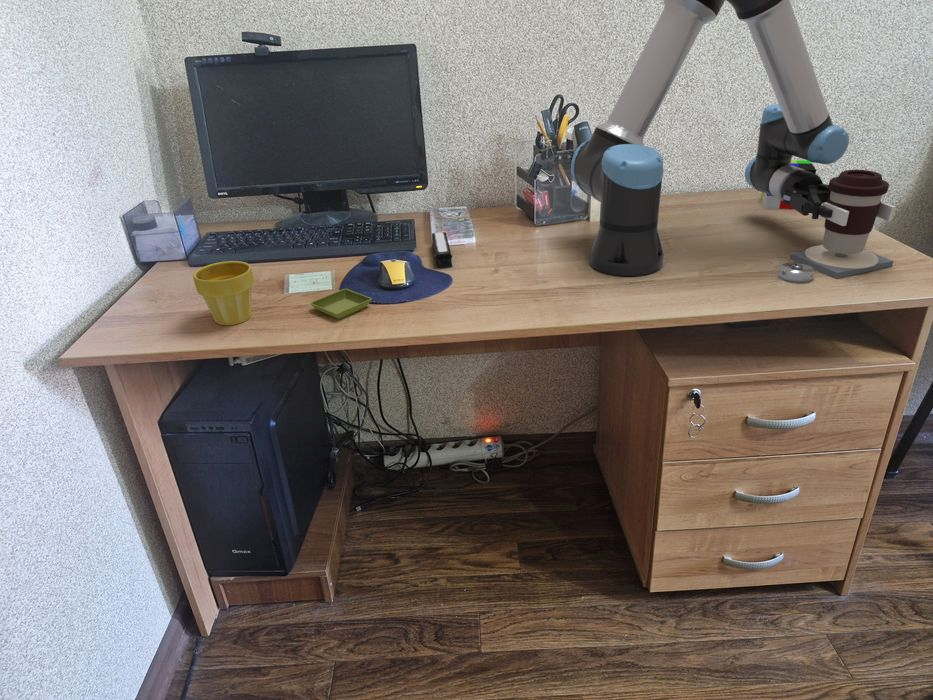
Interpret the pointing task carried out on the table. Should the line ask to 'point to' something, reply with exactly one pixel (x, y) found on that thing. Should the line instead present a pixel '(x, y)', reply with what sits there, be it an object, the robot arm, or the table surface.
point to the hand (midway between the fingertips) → (868, 216)
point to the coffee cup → (854, 209)
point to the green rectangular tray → (341, 303)
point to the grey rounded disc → (796, 272)
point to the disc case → (840, 261)
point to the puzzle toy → (776, 203)
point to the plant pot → (226, 290)
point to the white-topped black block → (441, 250)
